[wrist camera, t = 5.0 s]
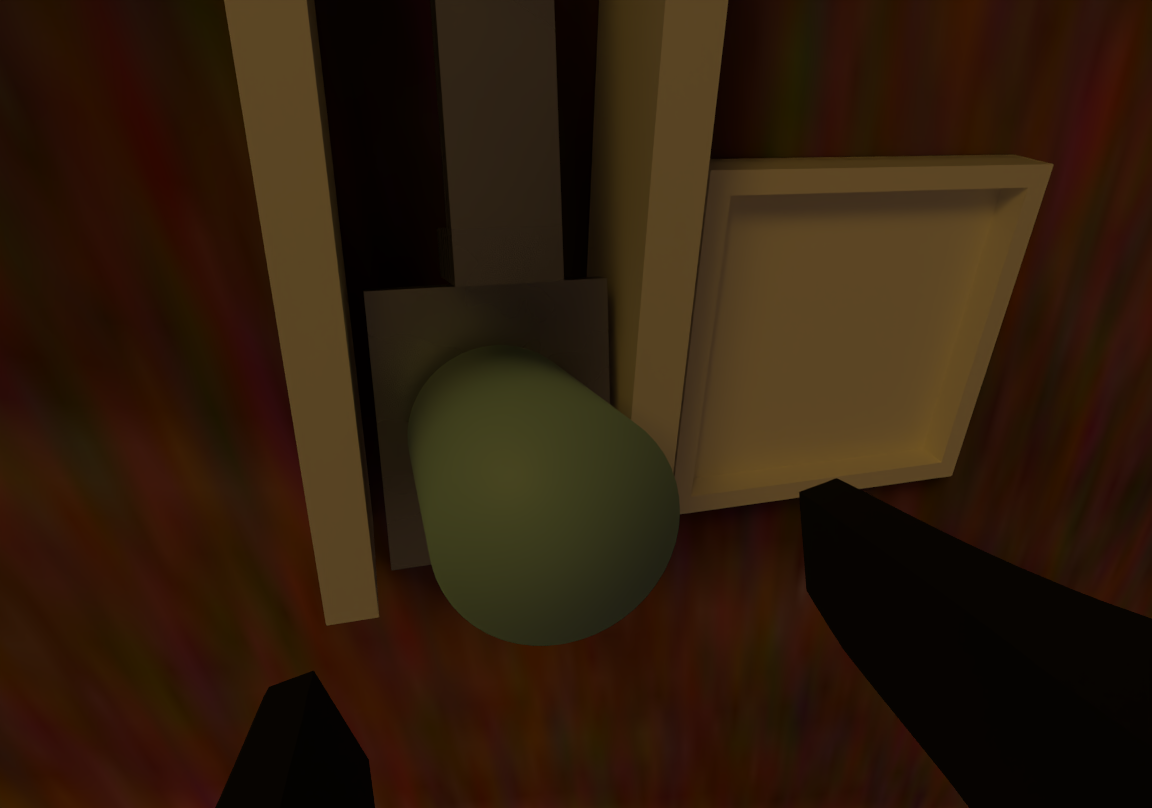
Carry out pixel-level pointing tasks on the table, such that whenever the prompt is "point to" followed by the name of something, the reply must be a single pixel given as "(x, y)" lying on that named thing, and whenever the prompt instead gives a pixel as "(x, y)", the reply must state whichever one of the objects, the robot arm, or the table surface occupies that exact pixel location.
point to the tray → (845, 318)
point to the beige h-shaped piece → (615, 242)
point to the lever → (485, 238)
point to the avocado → (537, 498)
